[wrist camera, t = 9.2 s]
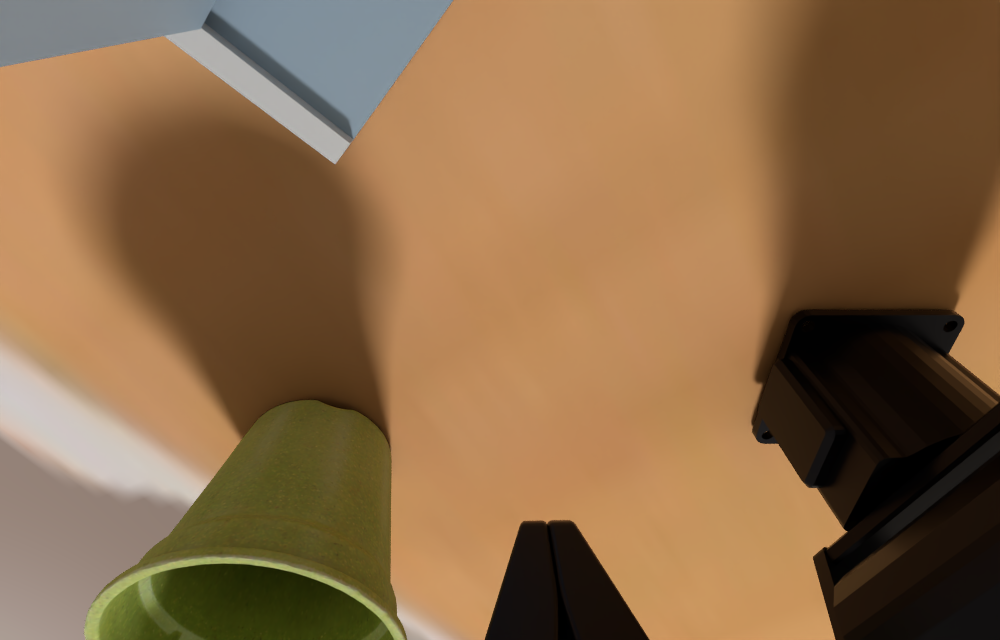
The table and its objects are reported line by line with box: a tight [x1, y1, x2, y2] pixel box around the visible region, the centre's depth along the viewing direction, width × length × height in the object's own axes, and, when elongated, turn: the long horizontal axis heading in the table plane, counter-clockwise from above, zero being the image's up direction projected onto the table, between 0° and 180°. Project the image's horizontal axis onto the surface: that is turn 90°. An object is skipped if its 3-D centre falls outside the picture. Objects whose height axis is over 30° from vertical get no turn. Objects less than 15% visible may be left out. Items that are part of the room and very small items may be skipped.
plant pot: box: [84, 400, 407, 640], centre depth 20 cm, size 9×9×9 cm
